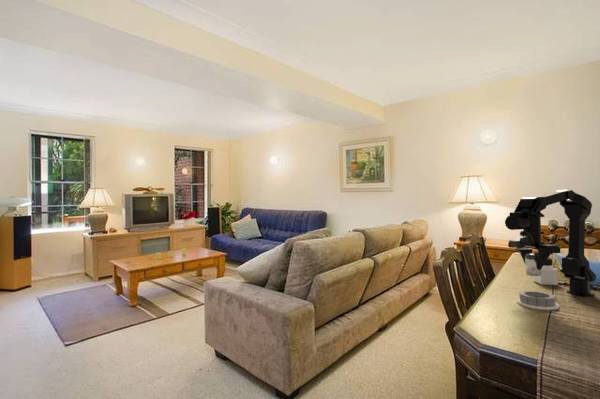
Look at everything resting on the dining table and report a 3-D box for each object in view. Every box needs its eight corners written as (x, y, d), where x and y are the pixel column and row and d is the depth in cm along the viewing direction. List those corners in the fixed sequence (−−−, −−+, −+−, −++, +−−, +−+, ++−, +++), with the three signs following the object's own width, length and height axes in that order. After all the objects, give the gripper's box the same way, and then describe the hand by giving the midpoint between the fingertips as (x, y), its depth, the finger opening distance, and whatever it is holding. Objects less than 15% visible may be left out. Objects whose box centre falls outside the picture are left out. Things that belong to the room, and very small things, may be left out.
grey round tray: (537, 298, 127) (537, 288, 127) (568, 308, 114) (568, 298, 114) (508, 300, 125) (508, 291, 125) (537, 311, 112) (536, 301, 112)
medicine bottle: (558, 285, 144) (557, 258, 144) (541, 284, 145) (539, 258, 145) (549, 281, 151) (548, 256, 151) (533, 280, 152) (531, 256, 152)
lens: (533, 273, 126) (533, 253, 126) (545, 275, 121) (544, 255, 121) (522, 273, 126) (521, 253, 126) (532, 276, 121) (532, 255, 121)
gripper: (495, 227, 132) (497, 264, 132) (533, 231, 113) (534, 274, 113) (520, 227, 133) (521, 263, 133) (561, 230, 115) (562, 273, 114)
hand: (533, 268), depth 123 cm, fingers closed on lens, 5 cm apart
